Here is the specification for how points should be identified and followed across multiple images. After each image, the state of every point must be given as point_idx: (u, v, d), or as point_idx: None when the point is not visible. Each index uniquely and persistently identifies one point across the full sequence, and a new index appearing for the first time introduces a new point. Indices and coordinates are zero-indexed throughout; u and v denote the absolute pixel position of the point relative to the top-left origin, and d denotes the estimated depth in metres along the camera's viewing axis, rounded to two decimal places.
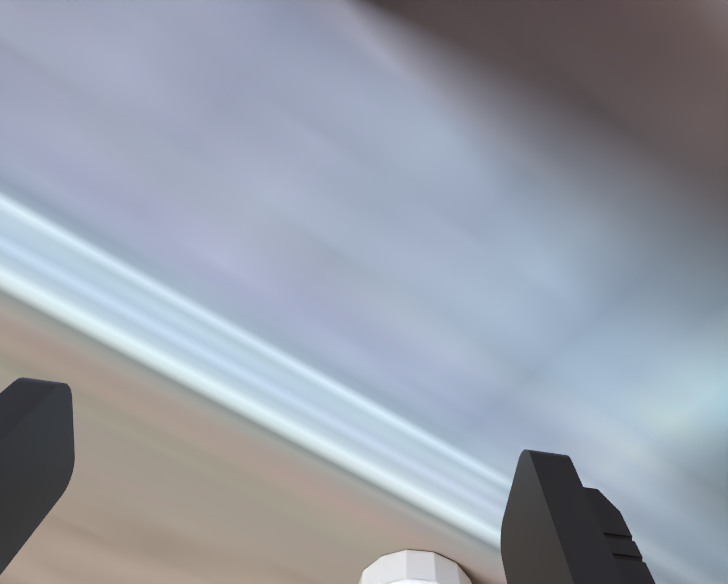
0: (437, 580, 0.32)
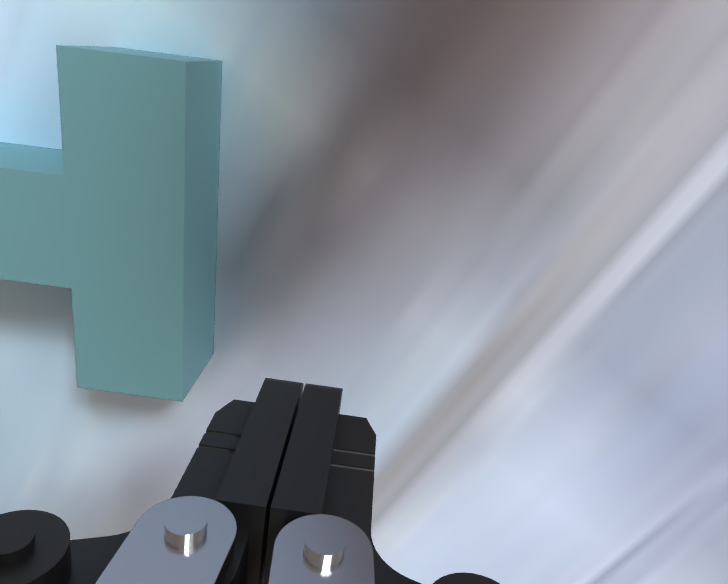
0: None
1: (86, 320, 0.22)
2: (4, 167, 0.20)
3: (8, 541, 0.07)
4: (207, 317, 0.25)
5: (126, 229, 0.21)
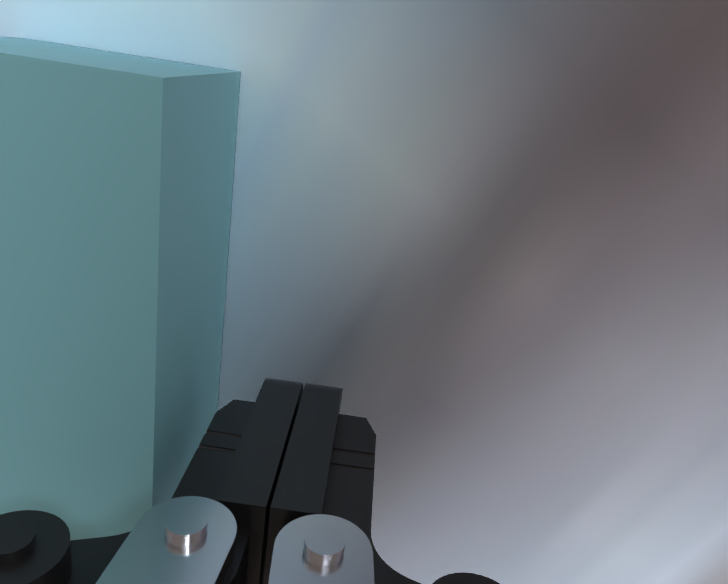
0: None
1: None
2: None
3: (9, 541, 0.07)
4: None
5: (26, 438, 0.09)
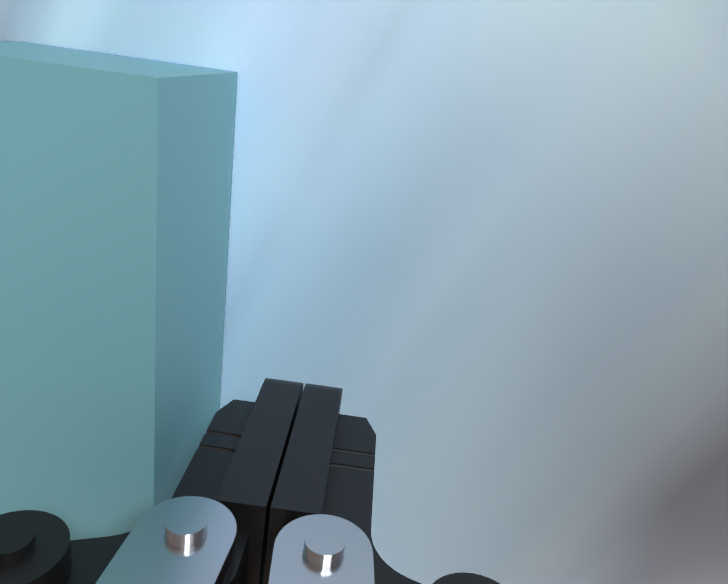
0: None
1: None
2: None
3: (8, 541, 0.07)
4: None
5: (28, 438, 0.09)
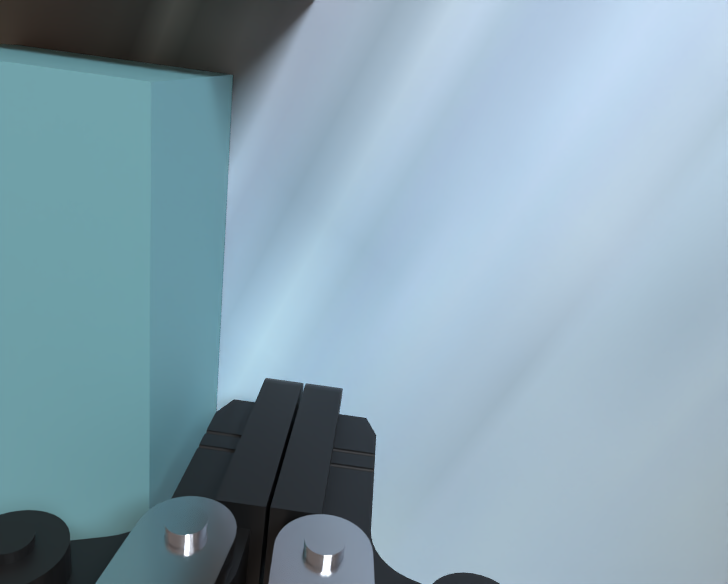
0: None
1: None
2: None
3: (8, 541, 0.07)
4: None
5: (22, 443, 0.09)
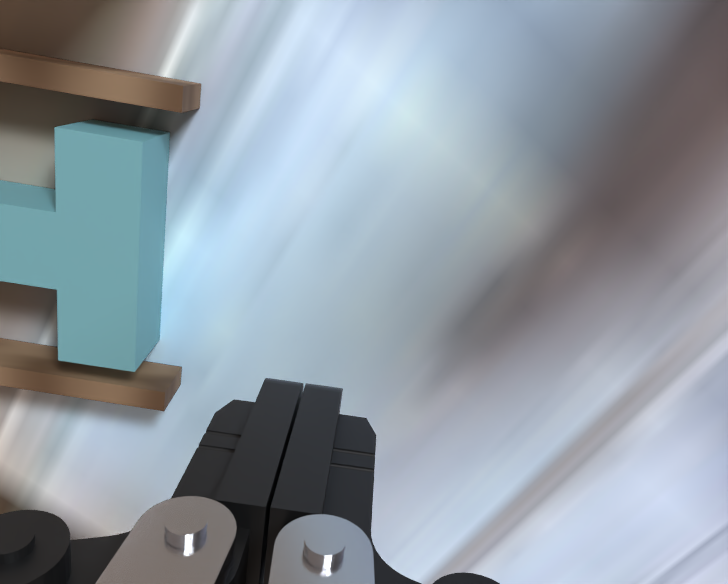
0: None
1: (67, 312, 0.31)
2: (13, 205, 0.29)
3: (8, 541, 0.07)
4: (155, 312, 0.34)
5: (98, 250, 0.30)
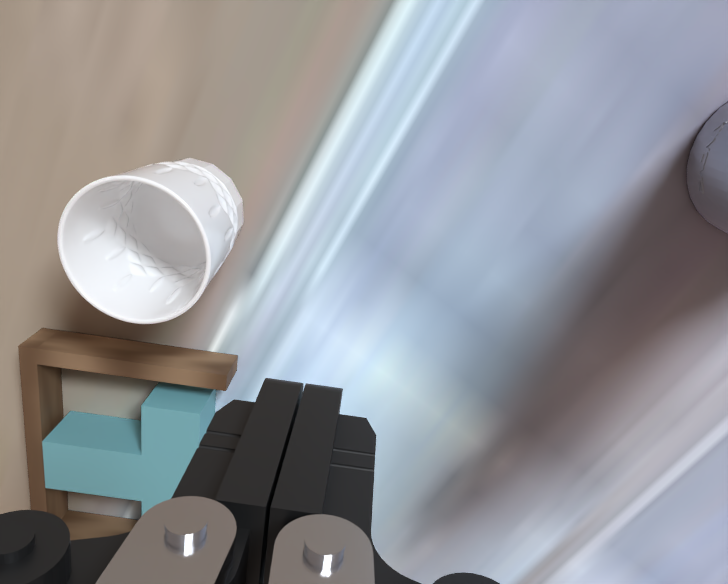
0: (237, 232, 0.39)
1: None
2: (112, 450, 0.43)
3: (8, 541, 0.07)
4: None
5: (170, 477, 0.43)
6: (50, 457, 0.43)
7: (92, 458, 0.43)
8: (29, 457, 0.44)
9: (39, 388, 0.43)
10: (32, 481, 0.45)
